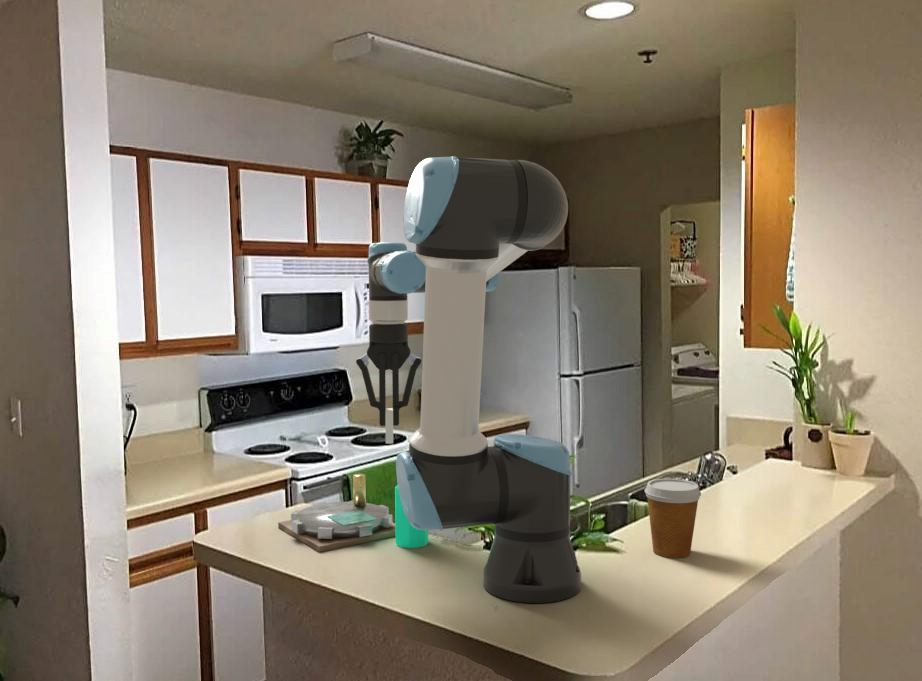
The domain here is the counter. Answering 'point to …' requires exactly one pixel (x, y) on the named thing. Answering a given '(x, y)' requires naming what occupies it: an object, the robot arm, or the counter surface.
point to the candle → (407, 528)
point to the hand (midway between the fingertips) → (389, 442)
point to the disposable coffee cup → (672, 515)
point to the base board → (336, 542)
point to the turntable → (343, 516)
